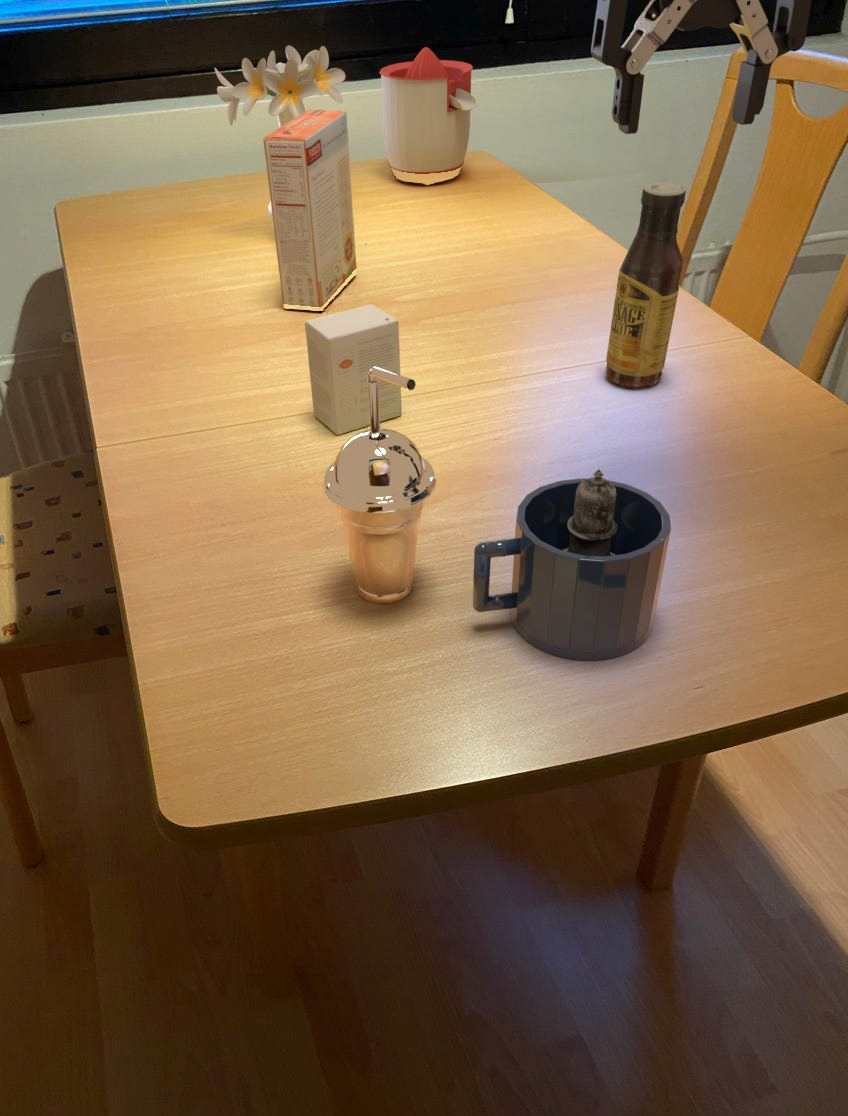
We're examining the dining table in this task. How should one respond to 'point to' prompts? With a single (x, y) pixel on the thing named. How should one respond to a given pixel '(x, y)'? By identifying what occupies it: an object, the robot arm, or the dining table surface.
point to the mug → (579, 575)
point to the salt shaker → (593, 517)
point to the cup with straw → (380, 500)
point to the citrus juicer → (426, 113)
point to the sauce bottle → (647, 291)
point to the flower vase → (282, 86)
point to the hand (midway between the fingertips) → (685, 127)
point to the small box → (352, 366)
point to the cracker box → (311, 205)
